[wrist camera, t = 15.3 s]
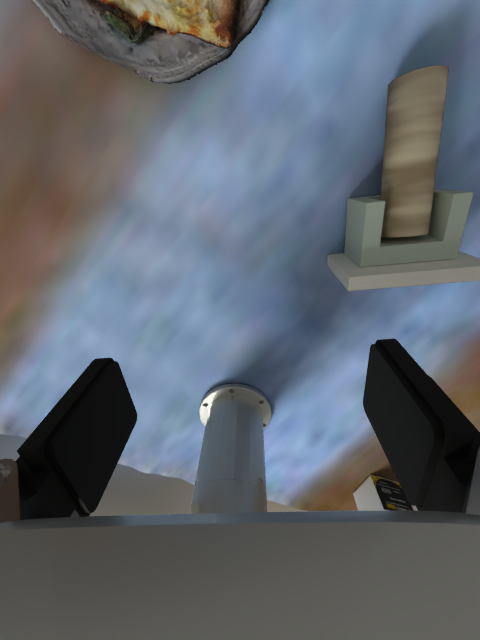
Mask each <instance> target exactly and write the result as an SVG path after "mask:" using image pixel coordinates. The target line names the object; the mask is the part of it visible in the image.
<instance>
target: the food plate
mask: <svg viewBox="0 0 480 640" xmlns="http://www.w3.org/2000/svg"><path fill="white" fill-rule="evenodd" d="M268 1H269V0H32V2H33V3H34V4H35V5H36V6H37V7H38V8H39V9H40V11H42V12H43V14H44V15H45V16H46V17H47V18H48V19H49V21H50V22H51V23H52V25H53V26H54V28H55V29H56V30H58V32H59V33H61V34H62V35H64V36H65V35H66V36H67V37H68V38H70V39H71V41H73V42H75V43H77V44H79V45H81V46H83V47H85V48H87V49H89V50H91V51H93V52H95V53H97V54H98V55H100V56H103V57H105V58H107V59H108V60H110V61H113V62H115V63H117V64H119V65H121V66H123V67H125V68H127V69H129V70H131V71H132V72H134V73H136V74H138V75H139V74H140V76H141V75H142V77H144V78H146V79H147V77H148V79H149V78H151V80H150V81H152V82H161V83H169V84H171V83H179V82H182V81H185V80H190V79H191V78H193V77H194V76H196V75H197V74H200V73H201V72H203V71H204V70H206V69H208V68H210V67H212V66H214V65H217V63H220V62H221V61H223V60H225V59H228V57H230V56H231V55H232V53H233V51H234V50H235V49H236V47H237V46H238V44H239V43H240V41H242V40H243V39H244V38H245V37H246V35H249V33H251V31H252V29H253V28H254V27H255V25H256V24H257V23H258V21H259V20H260V17H261V15H262V10H264V7H266V5H267V3H268ZM61 34H60V35H61ZM68 38H67V39H68ZM70 39H69V40H70Z"/></svg>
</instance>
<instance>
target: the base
mask: <svg viewBox="0 0 480 640" xmlns="http://www.w3.org/2000/svg"><path fill="white" fill-rule="evenodd" d="M327 266H328V267H329V269H330V270H331V271H332V272H333V273H334V275H335V276H336V277H337V278H338V279H339V281H340V282H341V283H342V284H343V286H344V287H345V288H346V289H347V290H348V291H355V290H368V289H380V288H392V287H405V286H417V285H429V284H442V283H454V282H466V281H479V280H480V259H479V258H476V257H474V256H471V255H468V254H465V253H463V252H460V251H458V255H457V259H447V260H435V261H424V262H412V263H401V264H389V265H378V266H367V267H360V266H358V265H357V264H356V263H355V262H354V261H353V260H351V259H350V258H349V257H348V256H347V255H346V254H344V253H340V254H329V255H328V258H327Z"/></svg>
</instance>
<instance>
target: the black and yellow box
mask: <svg viewBox="0 0 480 640" xmlns="http://www.w3.org/2000/svg"><path fill="white" fill-rule="evenodd" d="M353 495H354V498H355V501H356V505H357V508H358V511H414V510H413V508H412V506H411V504H410V503H409V502H408V500H407V498H406V496H405V494H404V492H403V490H402V488H401V485H400V483H399V482H396V481H392V480H388V479H385V478H381V477H378V476H374V475H370V476H369V477H368V478H367V479H366V480H365V481H364V482H363V483H362V484H361V485H360V486H359V488H358V489H357V490H356V491H355V492H354V493H353Z"/></svg>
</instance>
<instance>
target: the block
mask: <svg viewBox="0 0 480 640" xmlns="http://www.w3.org/2000/svg"><path fill="white" fill-rule="evenodd" d="M473 193H474V192H467V191H455V190H443V189H434V193H433V201H432V209H431V217H430V225H429V233H428V234H426V235H419V236H409V237H381V232H382V224H383V216H384V208H385V201H382V200H381V195H375V196H366V197H357V198H348V204H347V218H346V233H345V247H344V254H346V255H347V256H348V257H349V258H350V259H351V260H353V261H354V262H355V263H356V264H357V265H358V266H360V267H367V266H378V265H389V264H401V263H412V262H424V261H435V260H447V259H457V255H458V251H459V247H460V244H461V240H462V236H463V232H464V228H465V224H466V220H467V216H468V213H469V209H470V205H471V201H472V197H473Z"/></svg>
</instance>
